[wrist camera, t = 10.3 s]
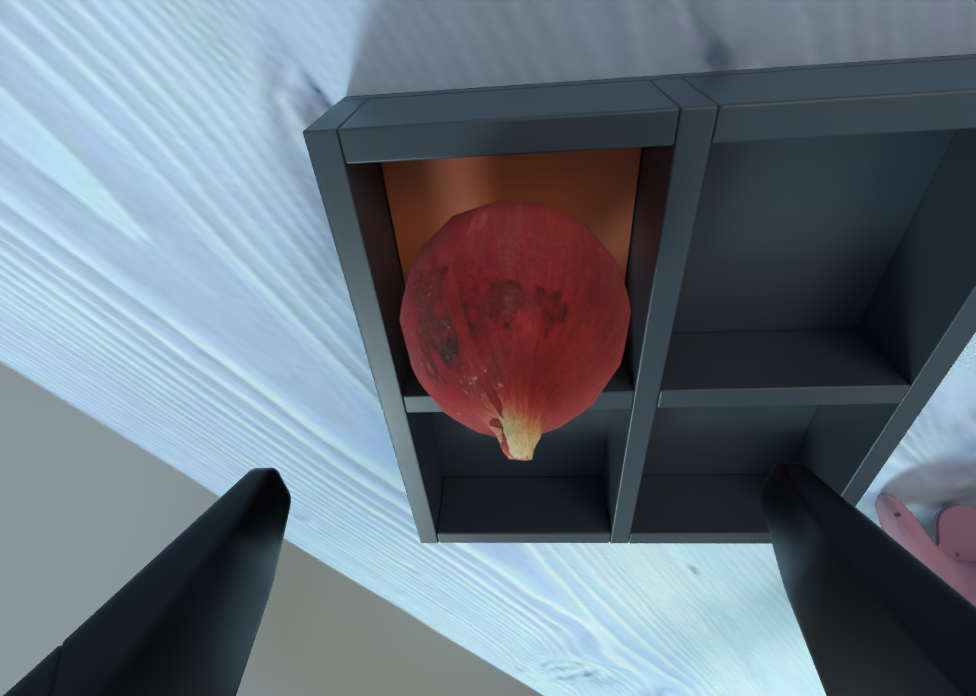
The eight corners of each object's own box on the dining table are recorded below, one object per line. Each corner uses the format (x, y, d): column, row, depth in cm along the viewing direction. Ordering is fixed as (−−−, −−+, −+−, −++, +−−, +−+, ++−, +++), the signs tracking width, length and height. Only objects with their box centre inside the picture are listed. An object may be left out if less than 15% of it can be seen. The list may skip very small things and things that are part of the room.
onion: (388, 253, 16) (307, 444, 10) (510, 113, 13) (508, 256, 7) (515, 350, 18) (516, 554, 12) (643, 248, 15) (730, 447, 9)
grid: (1012, 50, 12) (1152, 77, 10) (792, 475, 23) (830, 544, 20) (343, 96, 14) (301, 131, 11) (430, 477, 25) (420, 543, 22)
